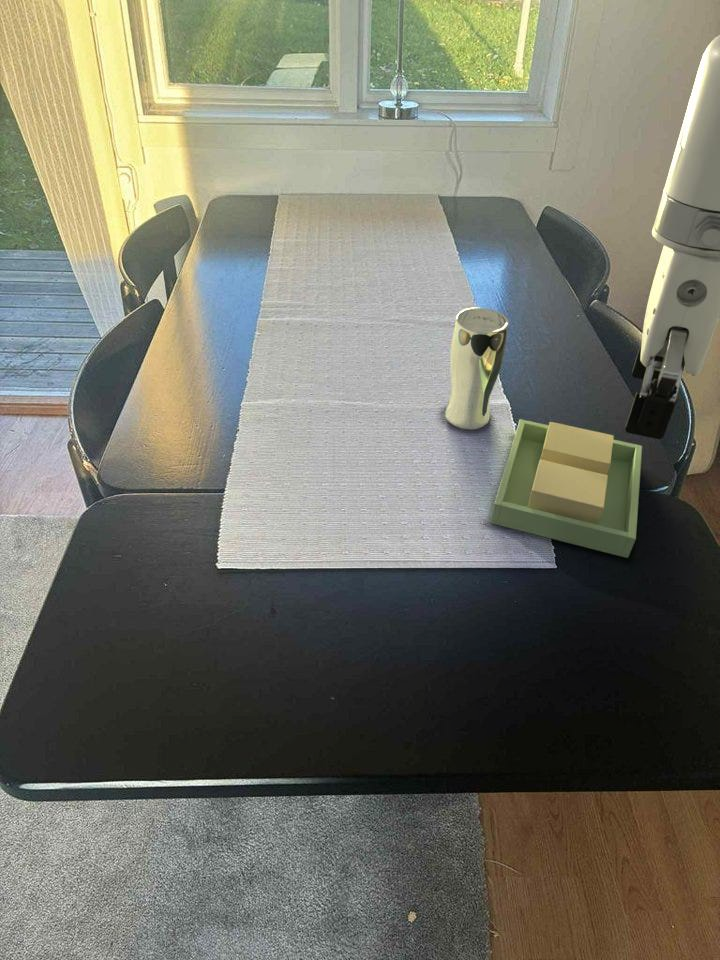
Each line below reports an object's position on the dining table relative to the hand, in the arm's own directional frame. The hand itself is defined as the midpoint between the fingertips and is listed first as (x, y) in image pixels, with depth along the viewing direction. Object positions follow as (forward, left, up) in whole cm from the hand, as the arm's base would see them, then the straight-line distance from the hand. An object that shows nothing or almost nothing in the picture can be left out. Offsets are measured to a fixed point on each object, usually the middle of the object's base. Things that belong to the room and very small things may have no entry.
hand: (645, 405), depth 65 cm
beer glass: (+19, -21, -21) cm, 35 cm away
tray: (+4, -10, -20) cm, 23 cm away
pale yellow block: (+4, -14, -20) cm, 25 cm away
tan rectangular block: (+4, -6, -20) cm, 21 cm away
